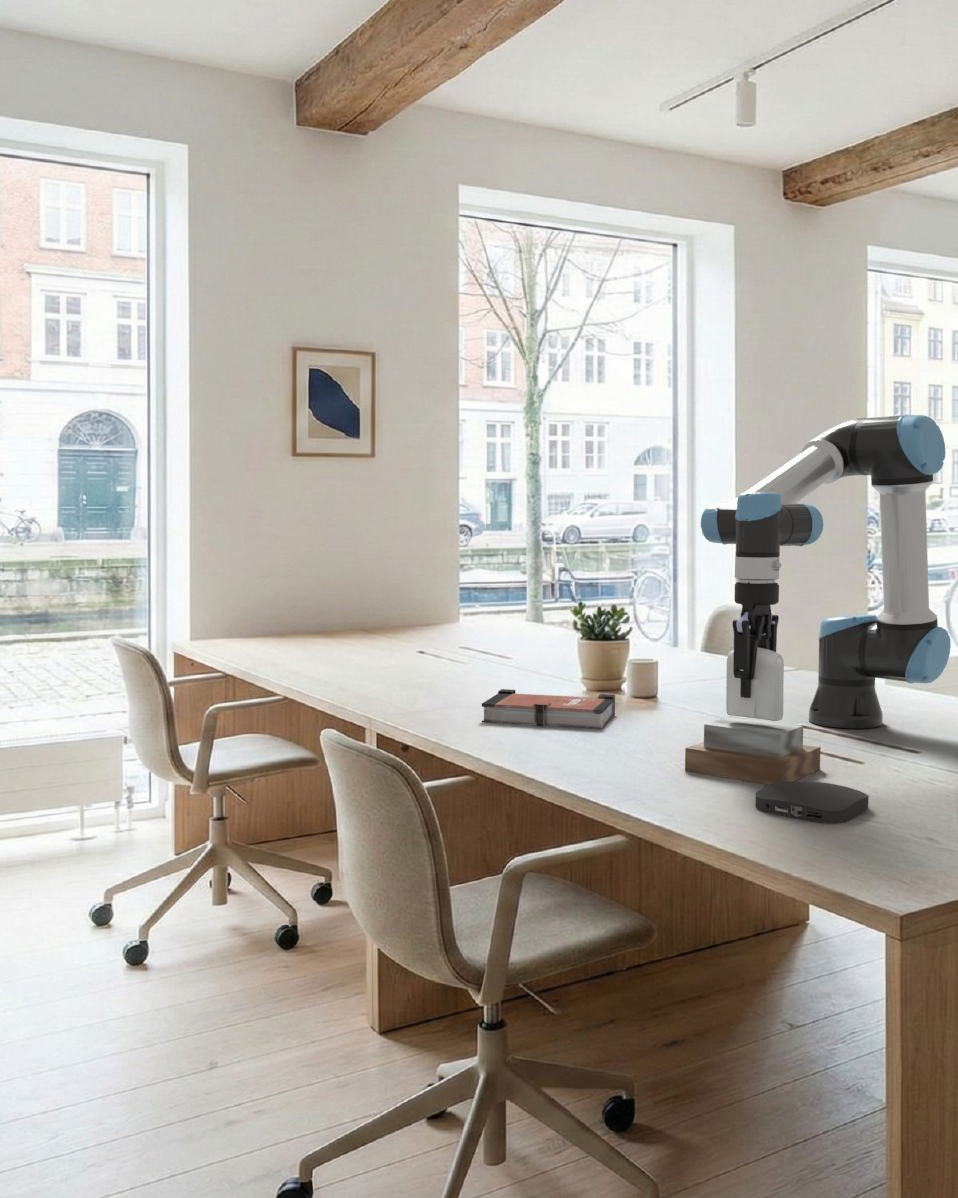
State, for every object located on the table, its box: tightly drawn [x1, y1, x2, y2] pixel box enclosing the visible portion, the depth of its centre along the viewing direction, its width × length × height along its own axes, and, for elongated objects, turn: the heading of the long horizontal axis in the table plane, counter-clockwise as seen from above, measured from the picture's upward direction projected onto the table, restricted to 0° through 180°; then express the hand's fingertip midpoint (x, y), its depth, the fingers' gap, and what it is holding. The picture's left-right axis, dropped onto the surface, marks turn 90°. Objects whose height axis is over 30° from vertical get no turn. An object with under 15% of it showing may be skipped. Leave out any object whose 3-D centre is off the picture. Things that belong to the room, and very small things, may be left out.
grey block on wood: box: [684, 715, 822, 785], centre depth 196 cm, size 16×18×8 cm
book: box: [481, 688, 616, 730], centre depth 243 cm, size 26×18×5 cm
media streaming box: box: [754, 780, 870, 824], centre depth 171 cm, size 15×15×3 cm
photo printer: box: [725, 647, 785, 722], centre depth 195 cm, size 10×4×12 cm, turn 47°
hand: (754, 713), depth 195 cm, fingers closed on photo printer, 4 cm apart
